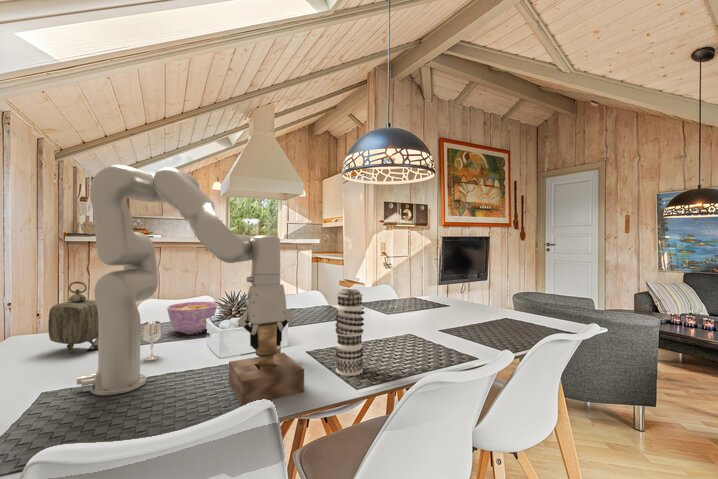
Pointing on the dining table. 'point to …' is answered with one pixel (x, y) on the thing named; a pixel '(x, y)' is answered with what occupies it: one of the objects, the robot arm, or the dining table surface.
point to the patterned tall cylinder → (349, 332)
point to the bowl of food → (191, 315)
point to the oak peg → (266, 344)
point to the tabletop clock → (74, 320)
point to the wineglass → (151, 335)
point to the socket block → (265, 378)
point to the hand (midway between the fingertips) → (266, 345)
